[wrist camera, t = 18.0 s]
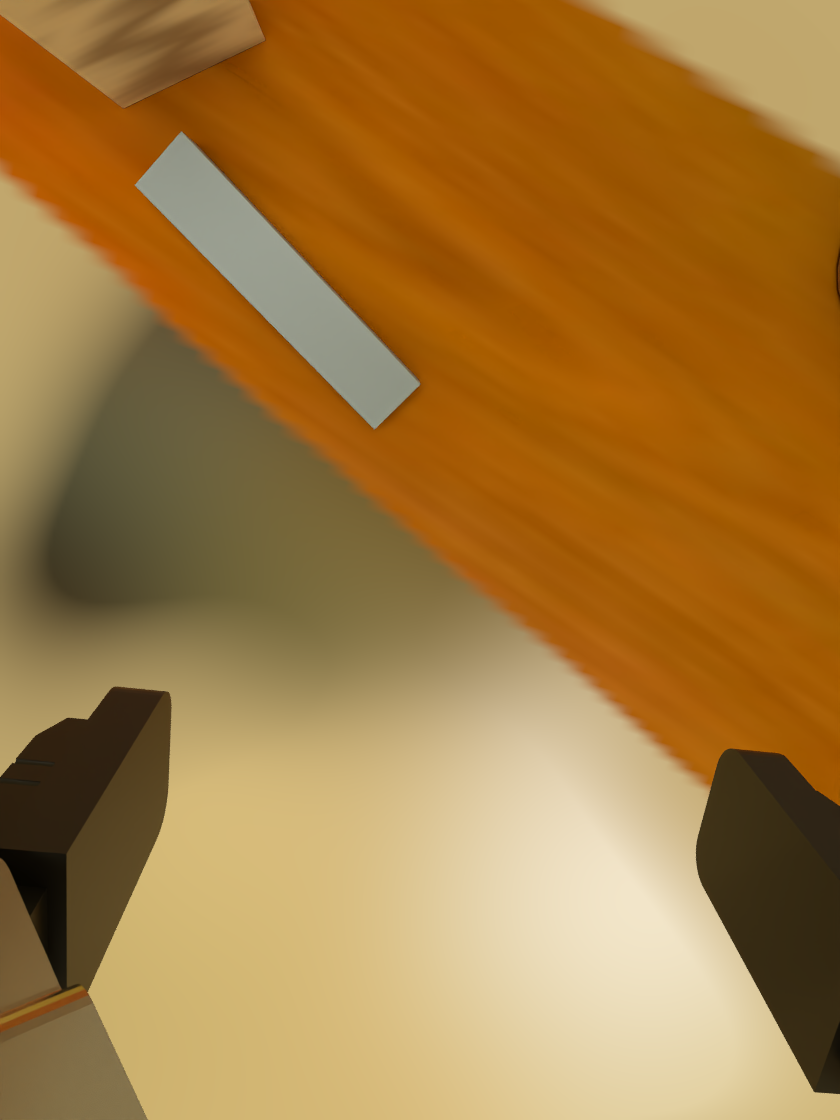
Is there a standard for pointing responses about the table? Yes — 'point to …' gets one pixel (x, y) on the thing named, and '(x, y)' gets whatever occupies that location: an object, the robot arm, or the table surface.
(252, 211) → the bar
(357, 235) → the table surface
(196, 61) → the tall patterned tan block
